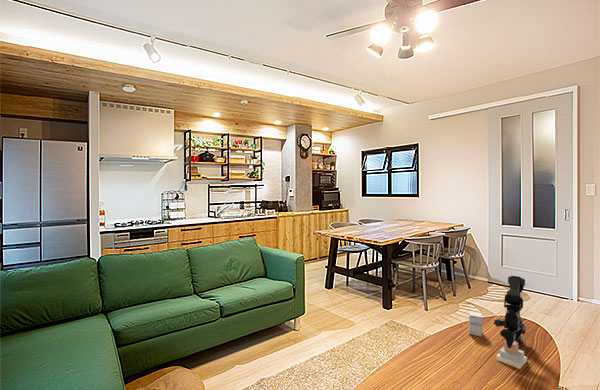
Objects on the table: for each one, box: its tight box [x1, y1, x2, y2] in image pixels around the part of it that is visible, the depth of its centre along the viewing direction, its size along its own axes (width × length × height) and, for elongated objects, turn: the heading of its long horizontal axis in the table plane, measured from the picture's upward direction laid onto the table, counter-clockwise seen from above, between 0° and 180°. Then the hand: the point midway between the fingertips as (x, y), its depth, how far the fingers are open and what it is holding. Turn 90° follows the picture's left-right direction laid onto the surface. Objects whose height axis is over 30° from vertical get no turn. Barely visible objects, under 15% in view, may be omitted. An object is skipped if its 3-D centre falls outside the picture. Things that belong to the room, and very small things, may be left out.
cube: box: [503, 340, 519, 354], centre depth 172 cm, size 5×5×5 cm
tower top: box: [499, 346, 525, 363], centre depth 172 cm, size 9×9×3 cm
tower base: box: [496, 352, 528, 370], centre depth 172 cm, size 11×11×3 cm
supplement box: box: [468, 310, 483, 337], centre depth 203 cm, size 7×7×13 cm
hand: (512, 345), depth 171 cm, fingers open, 9 cm apart
